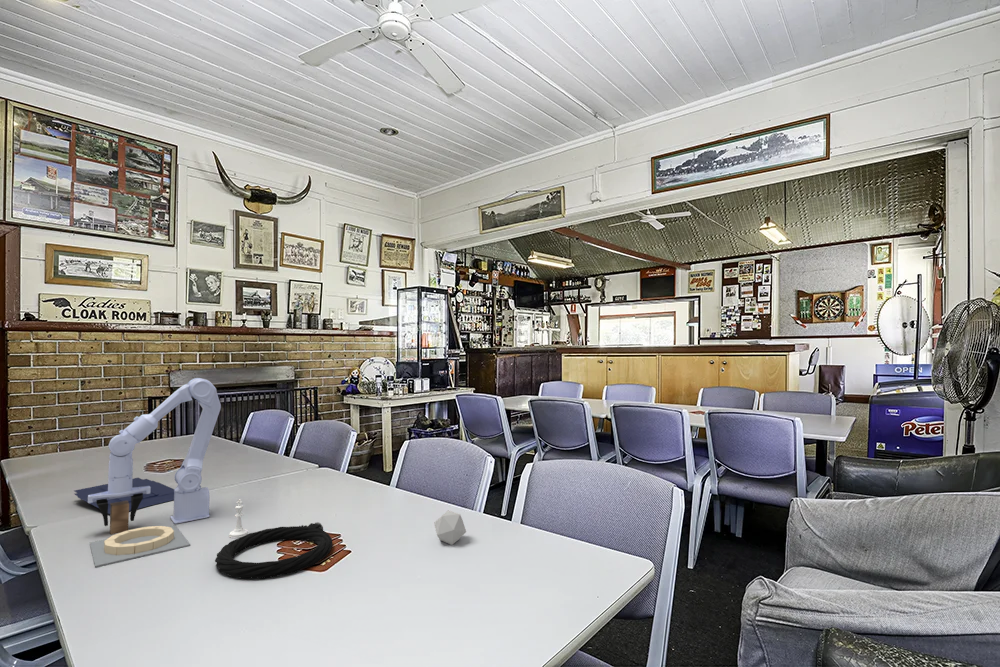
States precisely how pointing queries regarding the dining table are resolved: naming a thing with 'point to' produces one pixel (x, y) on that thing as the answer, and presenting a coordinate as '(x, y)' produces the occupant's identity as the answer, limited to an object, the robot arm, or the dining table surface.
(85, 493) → the dark blue flat plate
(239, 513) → the chess piece
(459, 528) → the die
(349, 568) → the dining table surface
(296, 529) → the cable lock
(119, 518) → the wooden peg
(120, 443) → the robot arm
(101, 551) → the bead board
